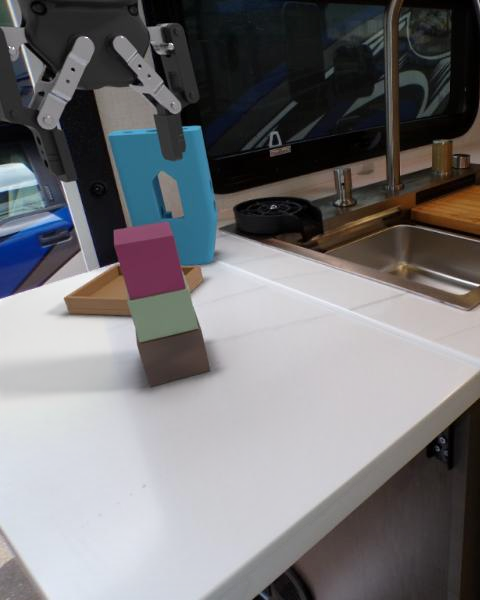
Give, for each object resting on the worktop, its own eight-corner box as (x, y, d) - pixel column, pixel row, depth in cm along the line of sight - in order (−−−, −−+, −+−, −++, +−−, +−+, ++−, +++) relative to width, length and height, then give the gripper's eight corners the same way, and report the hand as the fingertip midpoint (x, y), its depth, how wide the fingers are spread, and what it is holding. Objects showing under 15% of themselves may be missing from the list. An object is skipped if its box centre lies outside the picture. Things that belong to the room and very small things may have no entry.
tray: (68, 313, 68) (63, 297, 67) (120, 278, 78) (115, 264, 77) (163, 316, 66) (159, 300, 65) (203, 280, 76) (200, 265, 75)
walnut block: (149, 387, 53) (136, 345, 50) (145, 359, 58) (134, 319, 55) (210, 370, 55) (201, 329, 53) (202, 344, 60) (193, 306, 58)
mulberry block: (130, 300, 49) (114, 245, 47) (128, 281, 53) (113, 229, 51) (186, 288, 51) (173, 235, 49) (180, 271, 55) (168, 221, 53)
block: (142, 270, 80) (105, 136, 71) (149, 258, 85) (115, 130, 76) (223, 261, 83) (197, 130, 74) (225, 250, 87) (201, 125, 78)
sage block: (139, 343, 51) (127, 302, 49) (136, 319, 55) (125, 281, 53) (198, 329, 53) (189, 289, 51) (191, 307, 57) (182, 269, 55)
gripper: (137, -57, 42) (180, 150, 49) (-90, -82, 32) (6, 181, 39) (188, -70, 38) (227, 159, 45) (-56, -104, 28) (44, 196, 35)
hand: (123, 169), depth 42 cm, fingers open, 8 cm apart
